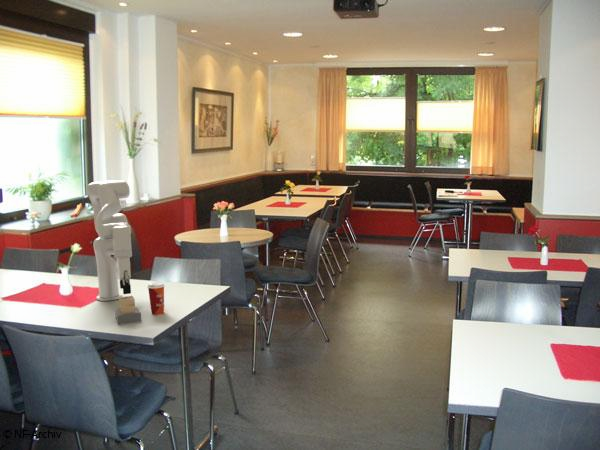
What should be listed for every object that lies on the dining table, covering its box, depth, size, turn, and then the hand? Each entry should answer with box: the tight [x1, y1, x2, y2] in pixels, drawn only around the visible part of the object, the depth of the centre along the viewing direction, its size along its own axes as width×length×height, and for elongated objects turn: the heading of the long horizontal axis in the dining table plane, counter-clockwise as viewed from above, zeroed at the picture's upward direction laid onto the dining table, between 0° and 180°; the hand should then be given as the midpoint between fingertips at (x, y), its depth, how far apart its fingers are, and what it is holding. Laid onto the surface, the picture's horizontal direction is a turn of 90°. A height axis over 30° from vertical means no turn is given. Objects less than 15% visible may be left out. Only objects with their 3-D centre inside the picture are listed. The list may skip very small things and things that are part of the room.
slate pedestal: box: [114, 306, 142, 325], centre depth 283 cm, size 10×10×4 cm
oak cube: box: [118, 295, 136, 314], centre depth 282 cm, size 6×6×6 cm
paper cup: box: [147, 281, 165, 316], centre depth 291 cm, size 8×8×14 cm
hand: (125, 290), depth 282 cm, fingers open, 9 cm apart
